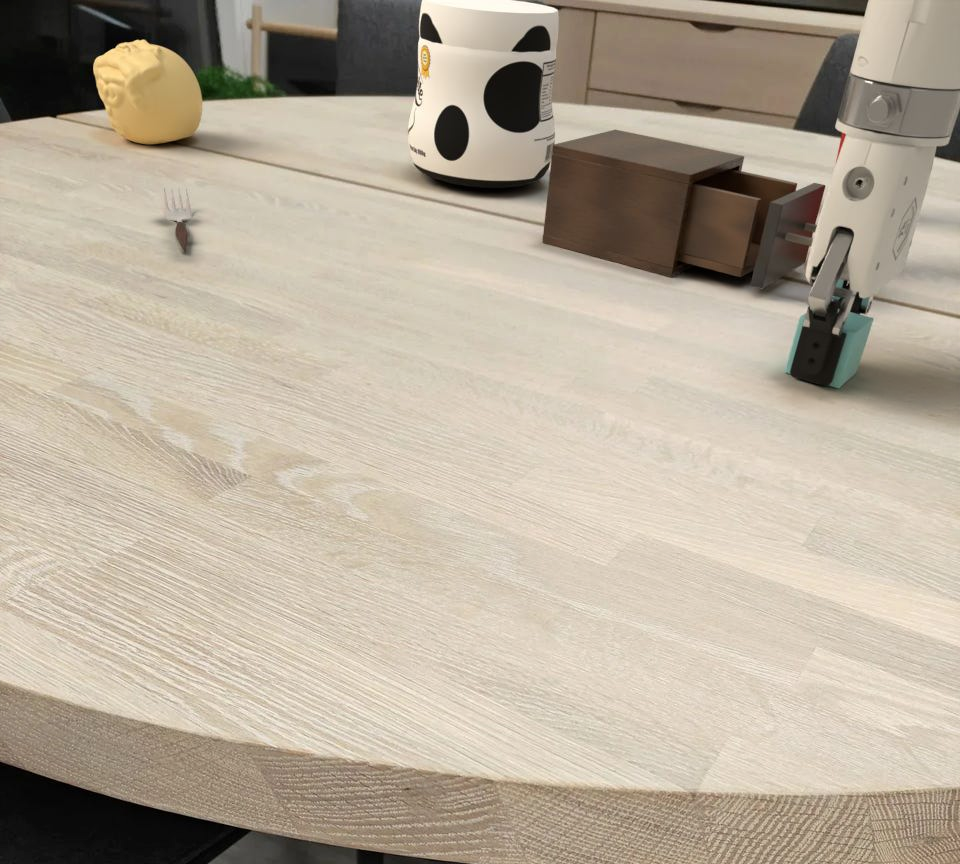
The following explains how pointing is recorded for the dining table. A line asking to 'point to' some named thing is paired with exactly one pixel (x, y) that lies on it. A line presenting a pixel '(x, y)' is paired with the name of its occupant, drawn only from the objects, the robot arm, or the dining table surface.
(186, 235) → the fork
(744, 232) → the drawer
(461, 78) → the milk container
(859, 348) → the teal cube
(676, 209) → the cabinet
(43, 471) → the dining table surface
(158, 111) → the sculpture
